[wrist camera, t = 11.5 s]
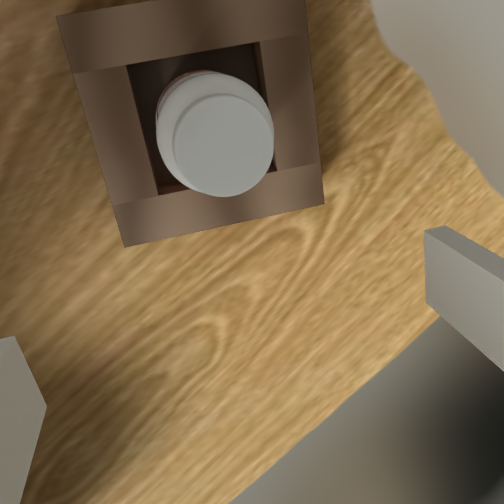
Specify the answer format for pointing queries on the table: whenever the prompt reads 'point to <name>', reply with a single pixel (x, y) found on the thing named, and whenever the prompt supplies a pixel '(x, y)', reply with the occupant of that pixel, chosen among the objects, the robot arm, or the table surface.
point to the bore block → (168, 68)
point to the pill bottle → (214, 133)
